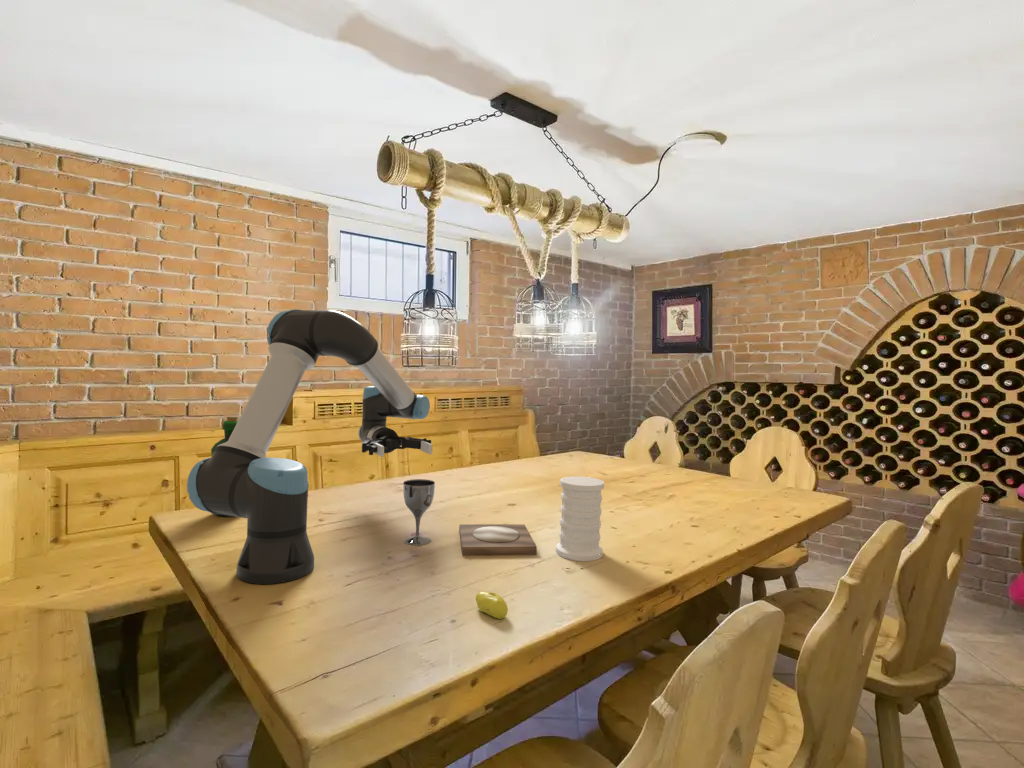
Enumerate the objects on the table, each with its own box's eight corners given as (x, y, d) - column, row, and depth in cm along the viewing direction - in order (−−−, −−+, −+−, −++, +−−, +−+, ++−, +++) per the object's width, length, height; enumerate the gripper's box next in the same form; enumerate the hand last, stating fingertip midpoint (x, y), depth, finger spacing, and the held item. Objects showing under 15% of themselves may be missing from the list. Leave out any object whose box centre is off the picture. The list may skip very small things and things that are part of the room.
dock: (536, 554, 130) (536, 544, 130) (462, 555, 128) (462, 545, 128) (524, 531, 148) (524, 522, 148) (459, 531, 146) (459, 523, 146)
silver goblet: (405, 534, 141) (407, 478, 141) (435, 536, 141) (437, 479, 141) (398, 544, 133) (400, 485, 133) (429, 546, 133) (431, 486, 133)
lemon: (494, 625, 94) (495, 603, 94) (469, 608, 101) (470, 587, 100) (513, 619, 97) (514, 598, 97) (488, 602, 103) (488, 582, 103)
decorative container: (599, 564, 126) (602, 488, 125) (551, 557, 129) (554, 483, 128) (605, 548, 137) (608, 478, 136) (560, 542, 140) (563, 474, 139)
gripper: (421, 449, 170) (448, 461, 151) (341, 453, 157) (360, 467, 139) (422, 426, 169) (449, 434, 151) (341, 428, 157) (361, 438, 138)
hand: (407, 450), depth 145 cm, fingers open, 13 cm apart
